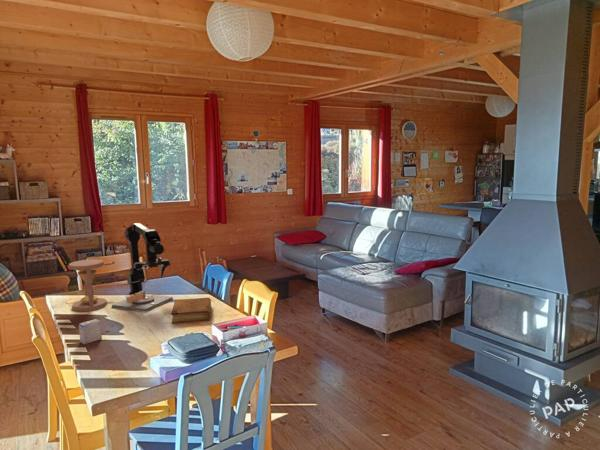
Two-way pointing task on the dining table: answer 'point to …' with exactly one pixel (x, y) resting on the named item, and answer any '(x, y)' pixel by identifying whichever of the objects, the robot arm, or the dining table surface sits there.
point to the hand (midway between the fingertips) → (153, 278)
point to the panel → (143, 304)
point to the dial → (140, 298)
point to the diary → (191, 310)
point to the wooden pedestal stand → (88, 285)
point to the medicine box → (90, 331)
